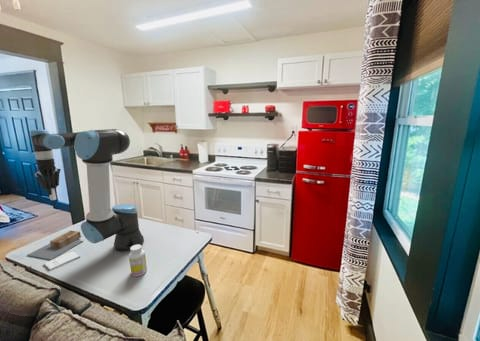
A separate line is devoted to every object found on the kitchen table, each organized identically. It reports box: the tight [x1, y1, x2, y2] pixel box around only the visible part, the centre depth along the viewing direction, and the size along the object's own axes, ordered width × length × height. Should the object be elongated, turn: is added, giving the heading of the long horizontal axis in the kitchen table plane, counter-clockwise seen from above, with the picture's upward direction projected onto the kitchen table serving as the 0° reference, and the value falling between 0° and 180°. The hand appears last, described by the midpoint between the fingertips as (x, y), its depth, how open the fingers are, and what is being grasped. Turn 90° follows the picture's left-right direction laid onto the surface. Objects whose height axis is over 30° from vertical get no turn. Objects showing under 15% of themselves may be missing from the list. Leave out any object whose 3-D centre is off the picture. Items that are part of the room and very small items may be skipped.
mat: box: [26, 239, 84, 261], centre depth 126 cm, size 16×18×1 cm
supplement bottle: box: [128, 244, 148, 277], centre depth 105 cm, size 7×7×13 cm
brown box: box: [49, 230, 82, 248], centre depth 131 cm, size 7×4×12 cm
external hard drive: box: [43, 250, 81, 271], centre depth 115 cm, size 2×8×12 cm
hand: (53, 199), depth 131 cm, fingers closed
